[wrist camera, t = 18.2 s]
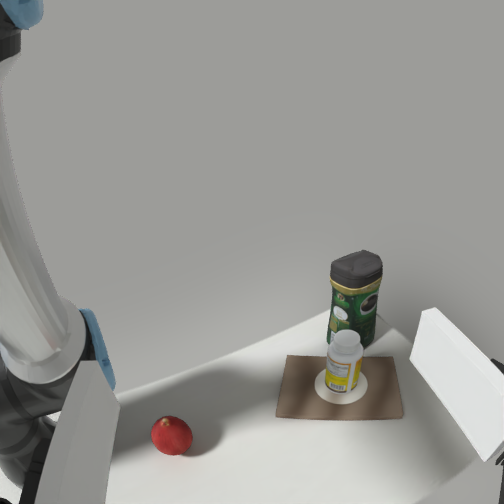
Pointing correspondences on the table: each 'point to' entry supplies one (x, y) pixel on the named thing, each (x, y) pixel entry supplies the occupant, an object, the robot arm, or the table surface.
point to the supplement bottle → (343, 362)
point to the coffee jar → (355, 295)
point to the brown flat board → (339, 405)
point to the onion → (171, 435)
